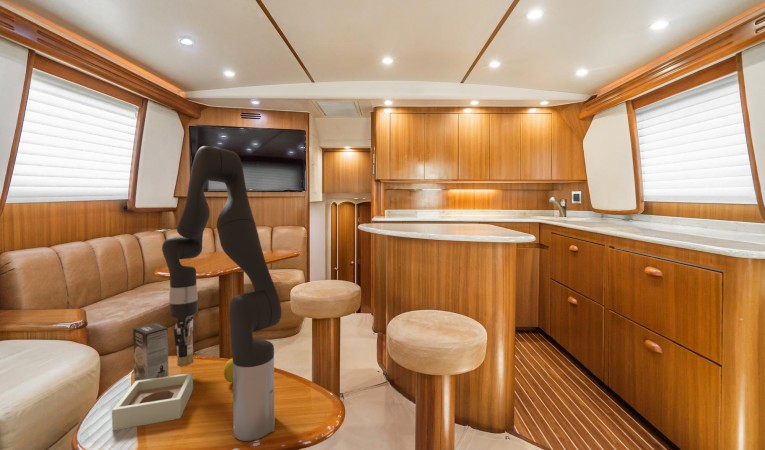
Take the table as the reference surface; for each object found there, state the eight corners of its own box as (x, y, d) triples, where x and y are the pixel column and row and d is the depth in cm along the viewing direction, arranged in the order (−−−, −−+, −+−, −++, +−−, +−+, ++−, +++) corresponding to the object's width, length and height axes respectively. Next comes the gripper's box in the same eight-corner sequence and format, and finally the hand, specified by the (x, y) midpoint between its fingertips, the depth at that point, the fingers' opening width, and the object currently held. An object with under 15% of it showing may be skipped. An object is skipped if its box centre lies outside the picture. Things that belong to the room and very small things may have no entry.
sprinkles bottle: (194, 364, 99) (193, 322, 99) (176, 368, 97) (175, 325, 96) (193, 359, 103) (192, 318, 103) (176, 363, 101) (175, 321, 100)
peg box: (193, 389, 93) (192, 372, 93) (180, 418, 80) (179, 399, 80) (136, 398, 89) (135, 380, 88) (112, 430, 75) (112, 410, 75)
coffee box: (133, 377, 100) (131, 327, 99) (155, 369, 105) (154, 321, 104) (146, 386, 95) (145, 333, 94) (170, 376, 100) (169, 327, 100)
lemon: (247, 381, 98) (247, 356, 98) (230, 389, 93) (230, 363, 93) (236, 376, 101) (236, 351, 100) (220, 384, 96) (219, 358, 96)
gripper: (192, 304, 94) (193, 361, 94) (202, 293, 107) (203, 343, 108) (162, 307, 91) (164, 365, 92) (176, 295, 105) (177, 346, 105)
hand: (185, 353), depth 100 cm, fingers closed on sprinkles bottle, 4 cm apart
